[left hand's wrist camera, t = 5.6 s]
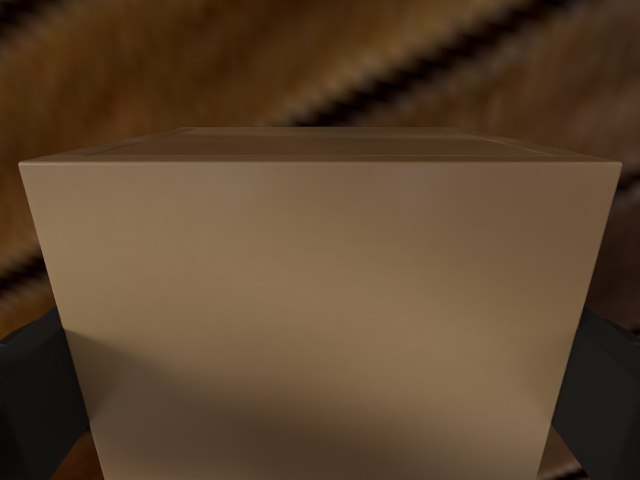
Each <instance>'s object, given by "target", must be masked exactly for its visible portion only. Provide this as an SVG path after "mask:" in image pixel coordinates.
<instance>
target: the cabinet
mask: <svg viewBox="0 0 640 480" xmlns="http://www.w3.org/2000/svg"><path fill="white" fill-rule="evenodd" d="M19 169H20V173H21V176H22V180H23V184H24V187H25V191H26V195H27V198H28V202H29V205H30V209H31V213H32V216H33V220H34V224H35V227H36V231H37V235H38V238H39V242H40V245H41V249H42V253H43V256H44V260H45V264H46V267H47V271H48V275H49V278H50V282H51V286H52V289H53V293H54V296H55V300H56V304H57V307H58V311H59V315H60V318H61V322H62V326H63V329H64V333H65V336H66V340H67V344H68V347H69V351H70V355H71V358H72V362H73V366H74V369H75V373H76V377H77V380H78V384H79V387H80V391H81V395H82V398H83V402H84V406H85V409H86V413H87V417H88V420H89V424H90V427H91V431H92V435H93V438H94V442H95V446H96V449H97V453H98V457H99V460H100V464H101V468H102V471H103V475H104V478H105V480H536V477H537V473H538V470H539V466H540V462H541V459H542V455H543V451H544V448H545V444H546V441H547V437H548V433H549V430H550V426H551V422H552V419H553V415H554V412H555V408H556V404H557V401H558V397H559V394H560V390H561V386H562V383H563V379H564V375H565V372H566V368H567V365H568V361H569V357H570V354H571V350H572V346H573V343H574V339H575V336H576V332H577V328H578V325H579V321H580V317H581V314H582V310H583V307H584V303H585V299H586V296H587V292H588V289H589V285H590V281H591V278H592V274H593V270H594V267H595V263H596V260H597V256H598V252H599V249H600V245H601V241H602V238H603V234H604V231H605V227H606V223H607V220H608V216H609V212H610V209H611V205H612V202H613V198H614V194H615V191H616V187H617V183H618V180H619V176H620V173H621V169H622V163H621V162H619V161H615V160H610V159H605V158H601V157H596V156H590V155H586V154H582V153H577V152H572V151H568V150H563V149H558V148H553V147H549V146H544V145H539V144H535V143H530V142H525V141H520V140H516V139H511V138H506V137H502V136H497V135H492V134H487V133H483V132H478V131H473V130H469V129H464V128H459V127H181V128H177V129H172V130H167V131H163V132H158V133H153V134H149V135H144V136H139V137H134V138H130V139H125V140H120V141H116V142H111V143H106V144H101V145H97V146H92V147H87V148H83V149H78V150H73V151H68V152H64V153H59V154H54V155H51V156H44V157H39V158H35V159H30V160H25V161H21V162H19Z"/></svg>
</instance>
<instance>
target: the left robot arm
mask: <svg viewBox="0 0 640 480" xmlns="http://www.w3.org/2000/svg"><path fill="white" fill-rule="evenodd" d="M88 424H89V420H88V417H87V413H86V409H85V406H84V402H83V398H82V395H81V391H80V387H79V384H78V380H77V377H76V373H75V369H74V366H73V362H72V358H71V355H70V351H69V347H68V344H67V340H66V336H65V333H64V329H63V326H62V322H61V318H60V315H59V311H58V307H57V305H56V306H55V307H53V308H52V309H51V310H49V311H48V312H47V313H46V314H44V315H43V316H42V317H41V318H39V319H38V320H35V321H33V322H31V323H29V324H27V325H25V326H23V327H21V328H19V329H17V330H15V331H13V332H11V333H10V334H9V335H7V336H6V337H5V338H3V339H2V340H1V341H0V480H49V479H50V478H51V477H52V475H53V474H54V472H55V471H56V470H57V468H58V467H59V465H60V464H61V462H62V461H63V460H64V458H65V457H66V455H67V454H68V453H69V451H70V450H71V448H72V447H73V446H74V444H75V443H76V441H77V440H78V439H79V437H80V436H81V434H82V433H83V432H84V430H85V429H86V427H87V426H88ZM551 424H552V425H553V427H554V428H555V430H556V431H557V432H558V434H559V435H560V437H561V438H562V439H563V441H564V442H565V444H566V445H567V446H568V448H569V449H570V451H571V452H572V453H573V455H574V456H575V458H576V459H577V460H578V462H579V463H580V465H581V466H582V468H583V469H584V470H585V472H586V473H587V475H588V476H589V477H590V479H591V480H640V338H638V337H637V336H636V335H634V334H633V333H632V332H630V331H629V330H627V329H625V328H623V327H621V326H619V325H617V324H615V323H613V322H611V321H609V320H607V319H601V318H600V317H599V316H597V315H596V314H595V313H594V312H592V311H591V310H590V309H588V308H587V307H586V306H585V305H584V307H583V310H582V314H581V317H580V321H579V325H578V328H577V332H576V336H575V339H574V343H573V346H572V350H571V354H570V357H569V361H568V365H567V368H566V372H565V375H564V379H563V383H562V386H561V390H560V394H559V397H558V401H557V404H556V408H555V412H554V415H553V419H552V422H551Z"/></svg>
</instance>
